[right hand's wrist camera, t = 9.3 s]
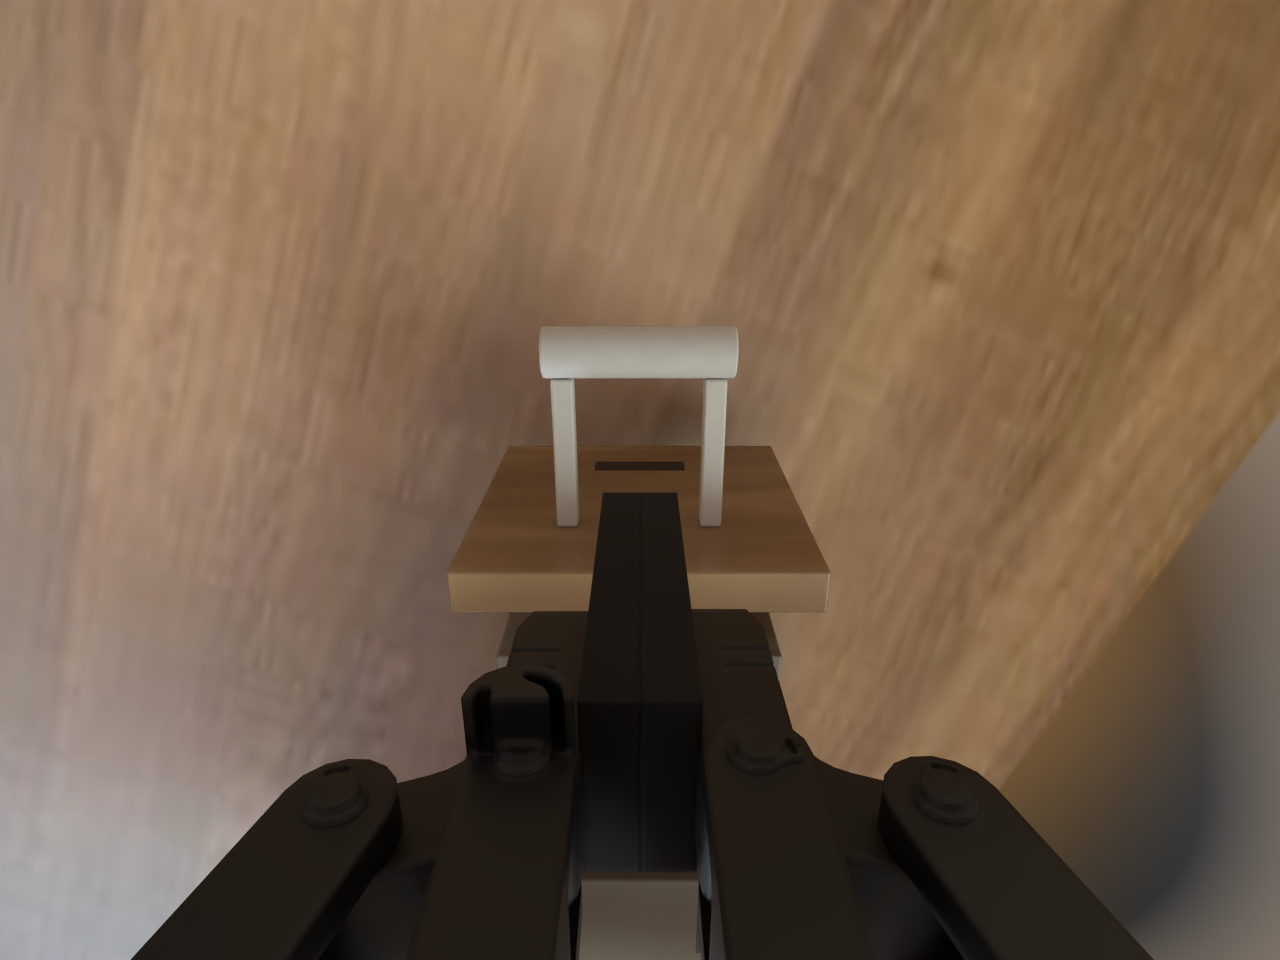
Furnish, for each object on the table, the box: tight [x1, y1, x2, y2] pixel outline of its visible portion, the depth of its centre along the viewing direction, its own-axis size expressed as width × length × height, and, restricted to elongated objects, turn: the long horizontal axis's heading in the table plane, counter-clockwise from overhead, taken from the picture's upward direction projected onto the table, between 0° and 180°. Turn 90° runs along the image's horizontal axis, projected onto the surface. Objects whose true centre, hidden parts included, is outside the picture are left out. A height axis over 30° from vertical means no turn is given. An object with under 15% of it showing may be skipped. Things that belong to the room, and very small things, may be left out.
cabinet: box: [579, 866, 701, 960], centre depth 30 cm, size 17×11×12 cm, turn 0°
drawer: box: [447, 326, 831, 682], centre depth 25 cm, size 21×10×10 cm, turn 0°
